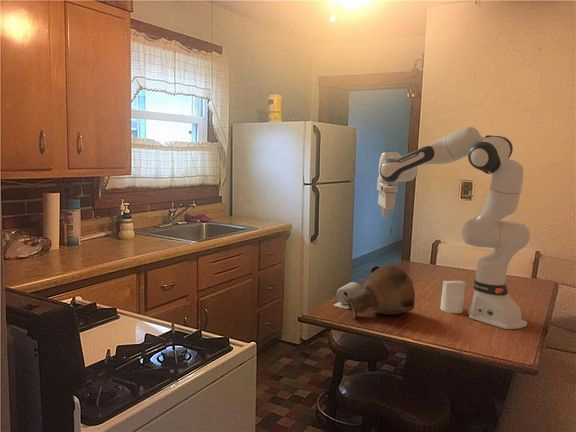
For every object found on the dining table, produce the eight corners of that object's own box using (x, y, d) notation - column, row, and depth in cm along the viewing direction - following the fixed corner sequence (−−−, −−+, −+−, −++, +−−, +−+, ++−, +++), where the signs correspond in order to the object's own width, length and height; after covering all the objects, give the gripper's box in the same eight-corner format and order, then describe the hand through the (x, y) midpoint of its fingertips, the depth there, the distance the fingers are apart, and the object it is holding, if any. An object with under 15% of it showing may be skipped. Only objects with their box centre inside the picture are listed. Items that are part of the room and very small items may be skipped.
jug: (404, 305, 212) (340, 321, 203) (396, 259, 212) (331, 273, 203) (431, 311, 192) (362, 329, 183) (422, 261, 193) (352, 276, 183)
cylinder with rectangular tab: (448, 313, 204) (451, 285, 202) (436, 306, 212) (438, 279, 211) (467, 312, 206) (470, 284, 205) (454, 306, 215) (457, 278, 213)
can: (365, 296, 214) (354, 302, 204) (350, 300, 218) (338, 307, 207) (359, 279, 215) (347, 285, 204) (344, 284, 218) (332, 290, 208)
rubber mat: (345, 299, 216) (345, 298, 216) (359, 302, 213) (359, 301, 213) (333, 306, 206) (333, 305, 206) (347, 309, 203) (347, 308, 203)
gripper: (376, 184, 239) (373, 213, 240) (384, 188, 218) (381, 219, 220) (389, 185, 239) (387, 214, 240) (398, 189, 218) (396, 220, 220)
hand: (384, 217), depth 230 cm, fingers closed
